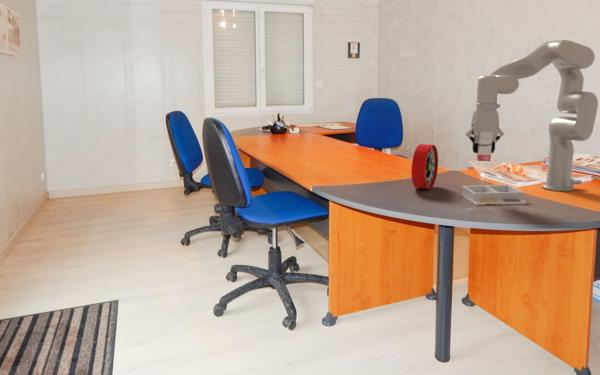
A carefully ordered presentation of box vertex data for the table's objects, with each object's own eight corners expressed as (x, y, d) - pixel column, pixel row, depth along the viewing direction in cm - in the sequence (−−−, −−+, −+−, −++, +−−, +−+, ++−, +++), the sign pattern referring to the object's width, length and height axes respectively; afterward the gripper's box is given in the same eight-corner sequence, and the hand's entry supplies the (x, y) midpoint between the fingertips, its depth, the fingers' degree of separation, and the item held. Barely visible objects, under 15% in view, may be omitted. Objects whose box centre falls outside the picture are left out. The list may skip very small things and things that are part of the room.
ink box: (491, 161, 197) (493, 131, 194) (478, 161, 198) (479, 131, 195) (487, 158, 205) (489, 129, 202) (475, 157, 206) (476, 129, 203)
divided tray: (507, 193, 212) (508, 184, 211) (526, 203, 195) (527, 194, 194) (461, 194, 211) (461, 185, 210) (476, 205, 195) (476, 195, 194)
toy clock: (423, 193, 215) (425, 147, 210) (410, 192, 218) (412, 147, 213) (437, 184, 231) (439, 142, 227) (424, 183, 234) (426, 141, 230)
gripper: (503, 106, 200) (500, 150, 204) (461, 107, 200) (459, 151, 204) (512, 107, 193) (508, 153, 197) (468, 108, 193) (465, 154, 197)
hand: (483, 152), depth 200 cm, fingers closed on ink box, 5 cm apart
